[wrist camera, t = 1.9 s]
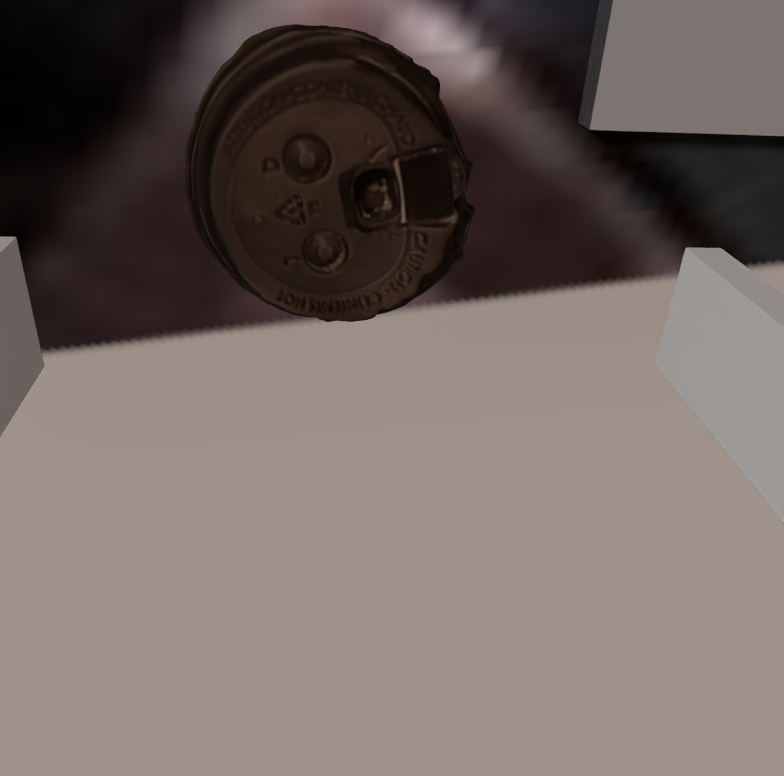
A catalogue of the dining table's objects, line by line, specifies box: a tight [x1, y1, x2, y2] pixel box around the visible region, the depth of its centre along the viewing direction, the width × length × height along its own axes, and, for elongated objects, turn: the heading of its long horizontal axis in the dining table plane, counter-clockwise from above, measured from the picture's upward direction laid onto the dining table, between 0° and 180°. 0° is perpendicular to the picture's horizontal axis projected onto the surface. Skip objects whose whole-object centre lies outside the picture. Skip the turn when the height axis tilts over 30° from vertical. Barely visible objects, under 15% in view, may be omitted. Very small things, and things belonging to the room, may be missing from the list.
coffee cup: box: [185, 24, 475, 322], centre depth 26 cm, size 9×8×13 cm
